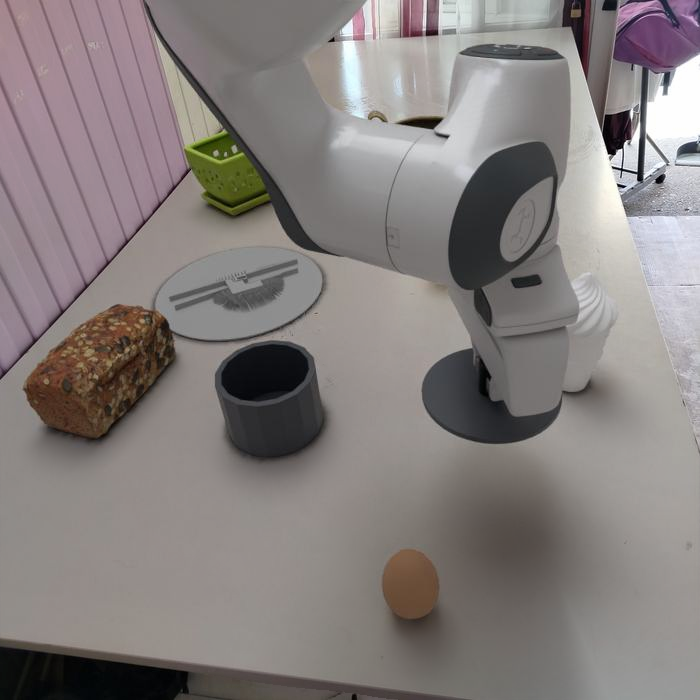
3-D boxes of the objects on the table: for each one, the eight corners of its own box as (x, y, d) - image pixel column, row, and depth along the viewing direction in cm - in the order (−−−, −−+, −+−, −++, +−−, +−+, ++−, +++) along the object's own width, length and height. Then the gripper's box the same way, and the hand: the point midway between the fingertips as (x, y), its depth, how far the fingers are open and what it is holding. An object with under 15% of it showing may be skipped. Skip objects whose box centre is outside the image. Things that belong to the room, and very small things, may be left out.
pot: (328, 447, 77) (320, 395, 71) (229, 465, 76) (214, 413, 71) (317, 383, 86) (309, 333, 81) (229, 398, 85) (215, 349, 80)
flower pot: (195, 204, 135) (180, 146, 127) (248, 182, 142) (237, 125, 134) (232, 223, 126) (218, 162, 118) (287, 199, 133) (277, 139, 125)
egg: (441, 584, 61) (441, 535, 56) (437, 636, 57) (437, 588, 52) (387, 578, 62) (383, 529, 57) (380, 629, 58) (375, 581, 53)
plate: (292, 234, 120) (291, 228, 120) (348, 307, 100) (347, 301, 99) (144, 274, 113) (142, 268, 113) (171, 362, 93) (169, 356, 92)
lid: (585, 434, 57) (592, 395, 54) (442, 460, 56) (442, 423, 53) (529, 346, 67) (533, 310, 64) (408, 367, 66) (406, 331, 64)
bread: (102, 445, 80) (74, 386, 74) (38, 427, 84) (6, 370, 78) (183, 355, 94) (165, 299, 87) (125, 344, 97) (104, 289, 91)
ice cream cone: (583, 413, 77) (604, 304, 67) (523, 385, 82) (534, 280, 72) (614, 376, 82) (638, 270, 72) (555, 353, 87) (569, 250, 77)
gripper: (428, 207, 60) (430, 325, 68) (504, 334, 44) (494, 467, 52) (493, 197, 60) (487, 315, 69) (591, 319, 44) (567, 453, 53)
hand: (490, 382), depth 60 cm, fingers closed on lid, 2 cm apart
